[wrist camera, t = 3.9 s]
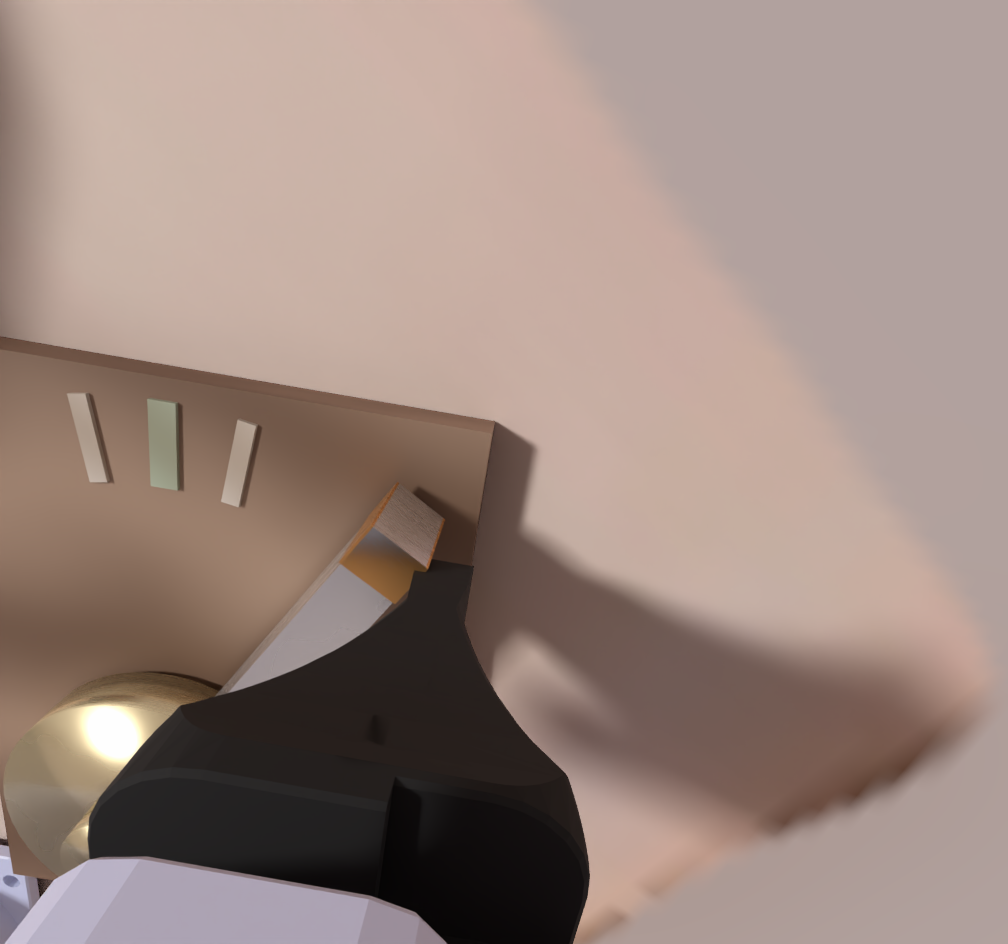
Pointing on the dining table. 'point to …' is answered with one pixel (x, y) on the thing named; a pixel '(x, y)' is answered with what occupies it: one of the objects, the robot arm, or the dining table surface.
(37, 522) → the lever switch plate
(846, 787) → the dining table surface
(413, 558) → the switch lever
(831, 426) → the dining table surface
